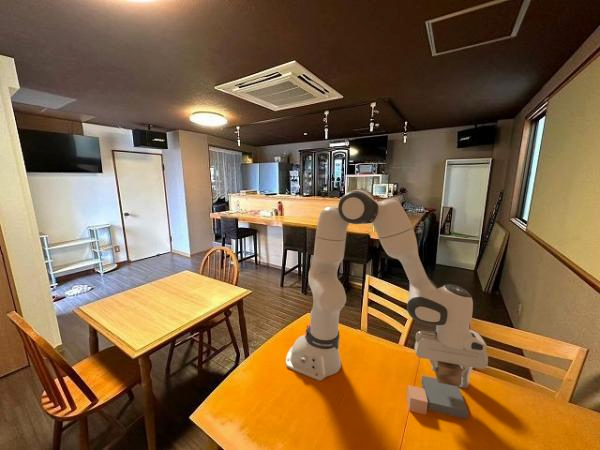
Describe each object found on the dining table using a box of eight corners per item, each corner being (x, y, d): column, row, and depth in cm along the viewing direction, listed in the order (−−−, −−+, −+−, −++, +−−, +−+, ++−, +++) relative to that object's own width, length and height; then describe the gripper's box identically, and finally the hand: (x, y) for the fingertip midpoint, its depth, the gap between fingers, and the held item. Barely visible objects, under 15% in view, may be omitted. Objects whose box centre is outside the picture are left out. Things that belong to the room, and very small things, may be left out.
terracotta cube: (409, 410, 77) (410, 397, 76) (406, 397, 82) (408, 385, 81) (426, 415, 76) (427, 401, 75) (422, 401, 81) (424, 388, 80)
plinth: (428, 409, 78) (429, 402, 77) (421, 382, 88) (422, 375, 87) (467, 419, 74) (468, 411, 74) (455, 389, 85) (456, 382, 84)
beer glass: (474, 391, 84) (480, 354, 81) (452, 387, 86) (458, 351, 83) (465, 375, 91) (470, 340, 88) (445, 372, 92) (449, 338, 89)
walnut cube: (438, 382, 78) (440, 366, 76) (433, 368, 83) (435, 353, 82) (459, 386, 76) (461, 370, 75) (453, 372, 82) (455, 357, 80)
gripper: (417, 335, 76) (414, 372, 79) (493, 347, 71) (486, 387, 73) (414, 324, 82) (411, 358, 85) (484, 334, 77) (477, 371, 79)
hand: (446, 372), depth 79 cm, fingers closed on walnut cube, 6 cm apart
